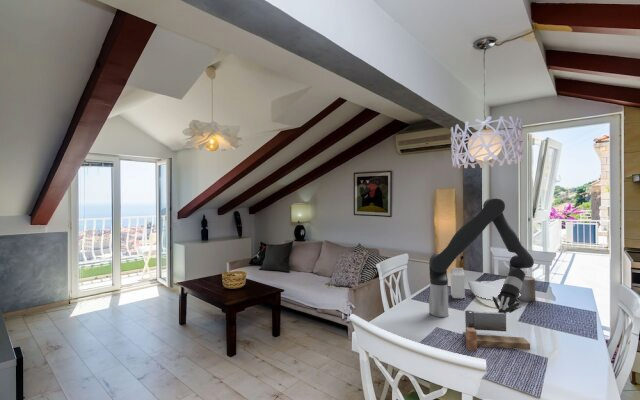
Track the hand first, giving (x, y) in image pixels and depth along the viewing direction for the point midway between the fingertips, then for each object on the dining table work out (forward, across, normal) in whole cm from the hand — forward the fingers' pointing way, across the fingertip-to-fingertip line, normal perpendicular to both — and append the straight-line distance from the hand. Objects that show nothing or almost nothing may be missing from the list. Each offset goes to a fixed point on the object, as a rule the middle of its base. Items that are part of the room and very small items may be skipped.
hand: (500, 317), depth 150 cm
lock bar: (+11, -2, -2) cm, 12 cm away
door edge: (+14, +3, -4) cm, 15 cm away
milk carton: (-19, -43, +30) cm, 55 cm away
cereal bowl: (-35, -32, +45) cm, 65 cm away
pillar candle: (-40, -14, +50) cm, 66 cm away
